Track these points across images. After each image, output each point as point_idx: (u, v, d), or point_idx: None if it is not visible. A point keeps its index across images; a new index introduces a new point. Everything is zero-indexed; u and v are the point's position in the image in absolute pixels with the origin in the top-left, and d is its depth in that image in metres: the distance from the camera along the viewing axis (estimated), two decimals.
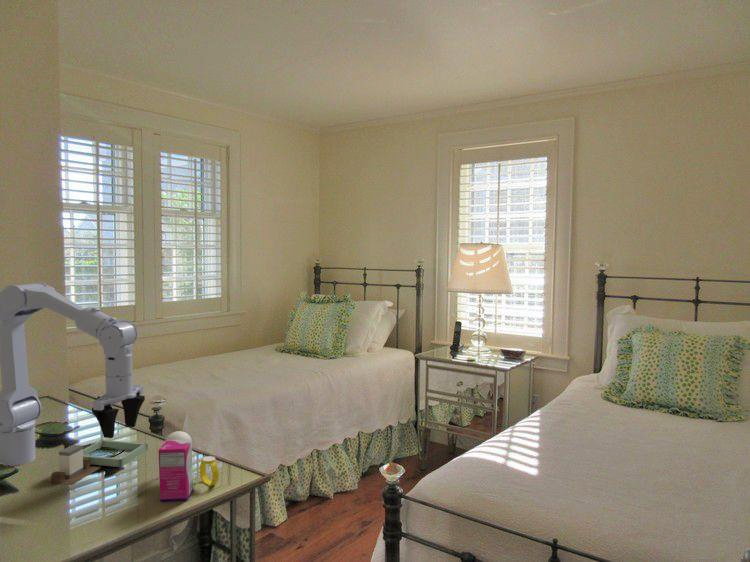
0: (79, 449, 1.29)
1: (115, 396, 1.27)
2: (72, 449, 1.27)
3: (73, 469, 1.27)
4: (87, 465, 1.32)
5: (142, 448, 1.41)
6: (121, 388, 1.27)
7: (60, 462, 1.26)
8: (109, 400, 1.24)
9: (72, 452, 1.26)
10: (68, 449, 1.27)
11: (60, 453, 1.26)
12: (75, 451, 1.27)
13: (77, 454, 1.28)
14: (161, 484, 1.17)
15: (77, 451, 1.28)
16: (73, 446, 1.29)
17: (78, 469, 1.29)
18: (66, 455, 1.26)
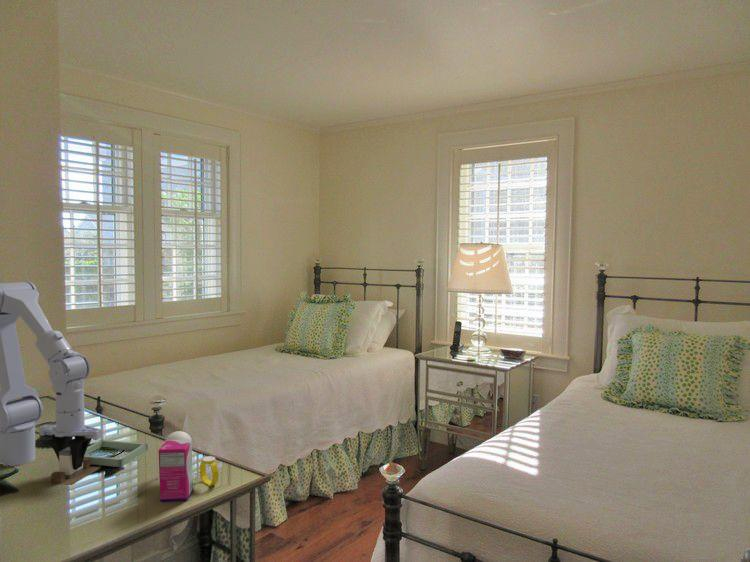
0: None
1: None
2: None
3: (73, 469, 1.27)
4: (87, 465, 1.32)
5: (142, 448, 1.41)
6: (56, 422, 1.26)
7: (60, 462, 1.26)
8: (46, 429, 1.27)
9: None
10: (68, 449, 1.27)
11: (60, 453, 1.26)
12: None
13: None
14: (161, 484, 1.17)
15: None
16: None
17: (78, 469, 1.29)
18: (66, 455, 1.26)
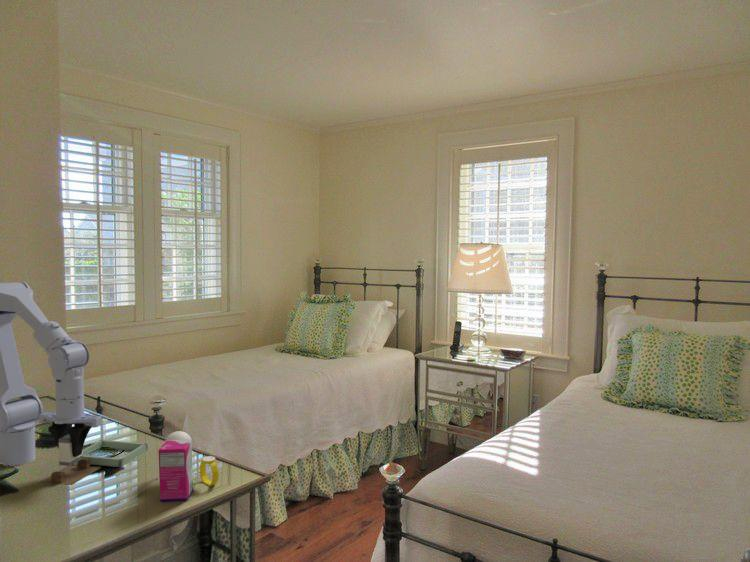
0: None
1: None
2: None
3: (73, 457, 1.27)
4: (87, 465, 1.32)
5: (142, 448, 1.41)
6: None
7: (60, 449, 1.26)
8: (46, 416, 1.27)
9: None
10: (67, 436, 1.27)
11: (60, 440, 1.26)
12: None
13: None
14: (161, 484, 1.17)
15: None
16: None
17: (78, 457, 1.28)
18: (66, 442, 1.25)
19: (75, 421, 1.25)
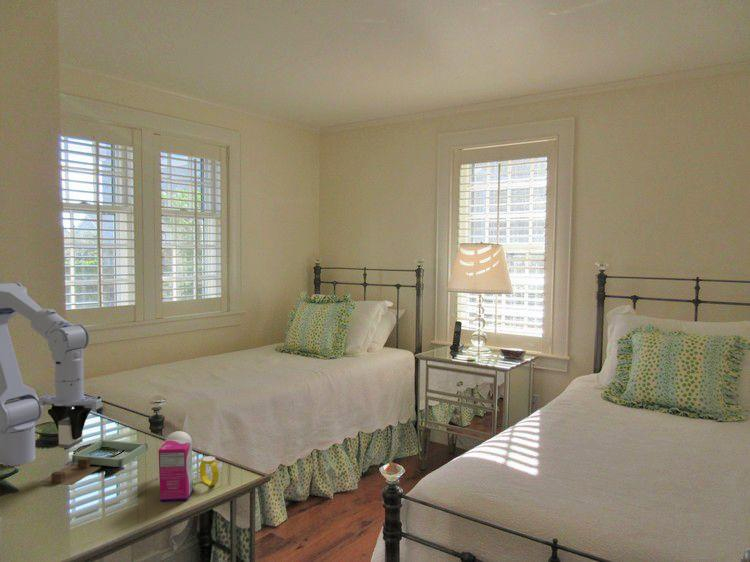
0: None
1: None
2: None
3: (73, 439, 1.26)
4: (87, 465, 1.32)
5: (142, 448, 1.41)
6: (55, 392, 1.25)
7: (59, 432, 1.25)
8: (45, 399, 1.26)
9: None
10: (67, 419, 1.27)
11: (59, 423, 1.25)
12: None
13: None
14: (161, 484, 1.17)
15: None
16: None
17: (77, 439, 1.28)
18: (65, 425, 1.25)
19: (75, 403, 1.24)
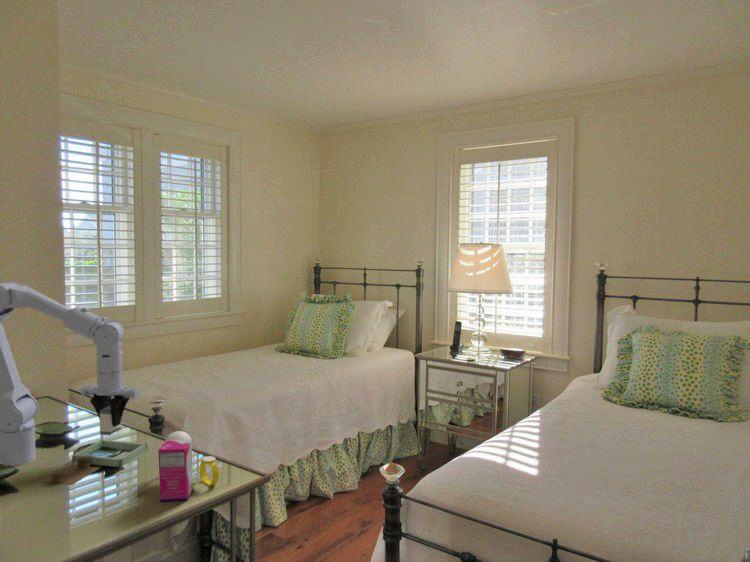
0: None
1: None
2: None
3: (113, 427, 1.38)
4: (87, 465, 1.32)
5: (142, 448, 1.41)
6: (97, 383, 1.36)
7: (101, 420, 1.36)
8: (87, 389, 1.37)
9: None
10: (107, 408, 1.38)
11: (101, 412, 1.36)
12: None
13: None
14: (161, 484, 1.17)
15: None
16: None
17: (117, 427, 1.39)
18: (106, 413, 1.36)
19: (115, 393, 1.35)
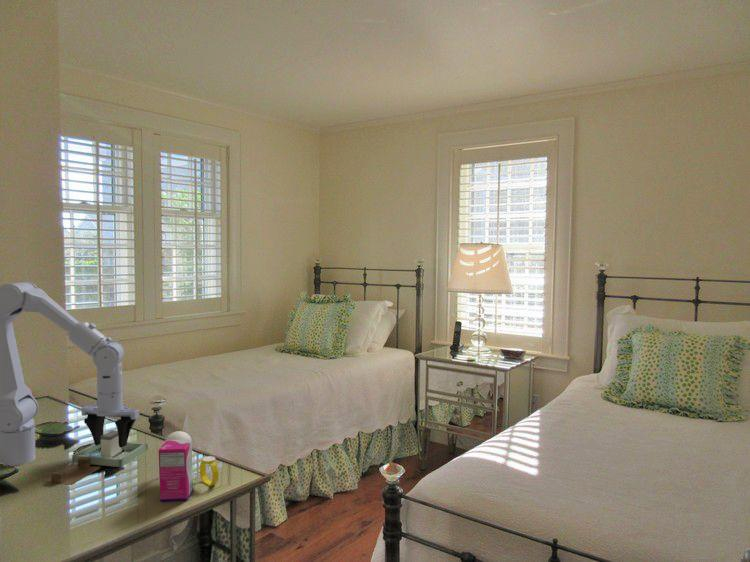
0: None
1: None
2: (112, 434, 1.38)
3: (113, 452, 1.38)
4: (87, 465, 1.32)
5: (142, 448, 1.41)
6: (97, 403, 1.37)
7: (101, 446, 1.37)
8: (88, 409, 1.38)
9: (112, 436, 1.37)
10: (108, 433, 1.39)
11: (101, 437, 1.37)
12: (115, 436, 1.38)
13: (116, 438, 1.39)
14: (161, 484, 1.17)
15: (116, 436, 1.39)
16: (112, 431, 1.40)
17: (117, 452, 1.40)
18: (107, 439, 1.37)
19: (115, 414, 1.36)
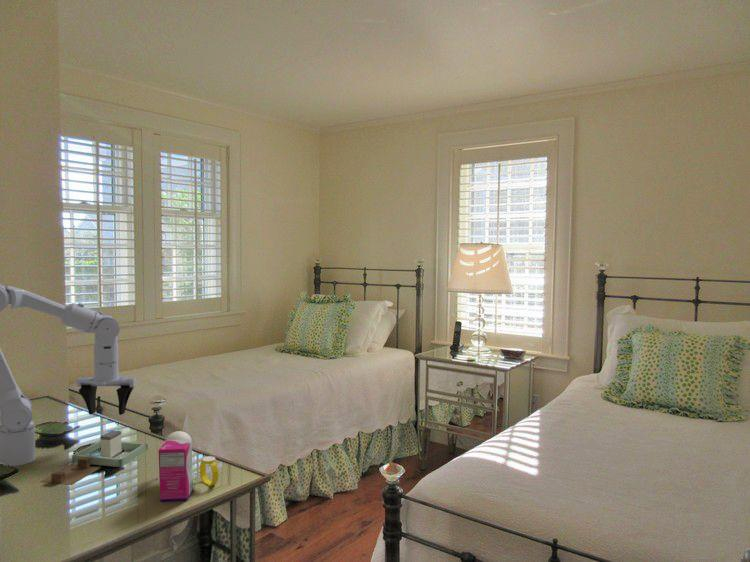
0: (118, 434, 1.40)
1: (94, 379, 1.43)
2: (112, 434, 1.38)
3: (113, 452, 1.38)
4: (87, 465, 1.32)
5: (142, 448, 1.41)
6: (95, 373, 1.42)
7: (101, 446, 1.37)
8: (84, 380, 1.43)
9: (112, 436, 1.37)
10: (108, 433, 1.39)
11: (101, 437, 1.37)
12: (115, 436, 1.38)
13: (116, 438, 1.39)
14: (161, 484, 1.17)
15: (116, 436, 1.39)
16: (112, 431, 1.40)
17: (117, 452, 1.40)
18: (107, 439, 1.37)
19: (114, 382, 1.43)
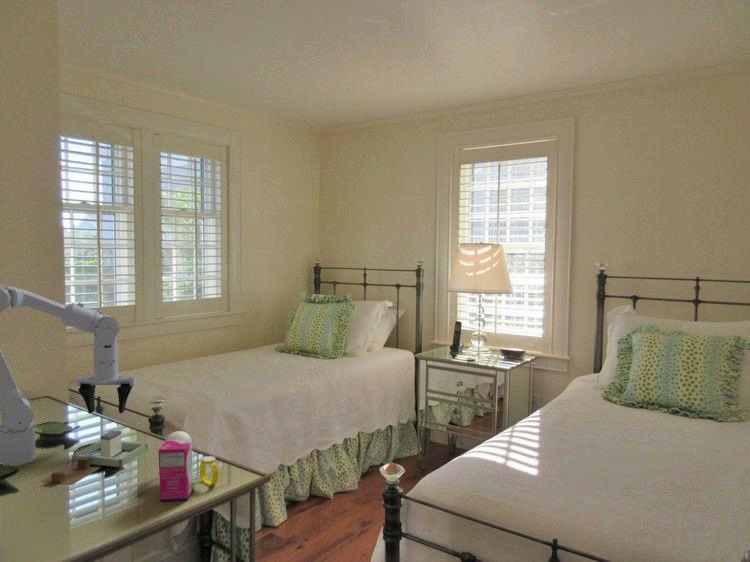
0: (118, 434, 1.40)
1: (93, 378, 1.44)
2: (112, 434, 1.38)
3: (113, 452, 1.38)
4: (87, 465, 1.32)
5: (142, 448, 1.41)
6: (94, 372, 1.43)
7: (101, 446, 1.37)
8: (83, 379, 1.44)
9: (112, 436, 1.37)
10: (108, 433, 1.39)
11: (101, 437, 1.37)
12: (115, 436, 1.38)
13: (116, 438, 1.39)
14: (161, 484, 1.17)
15: (116, 436, 1.39)
16: (112, 431, 1.40)
17: (117, 452, 1.40)
18: (107, 439, 1.37)
19: (114, 381, 1.44)
